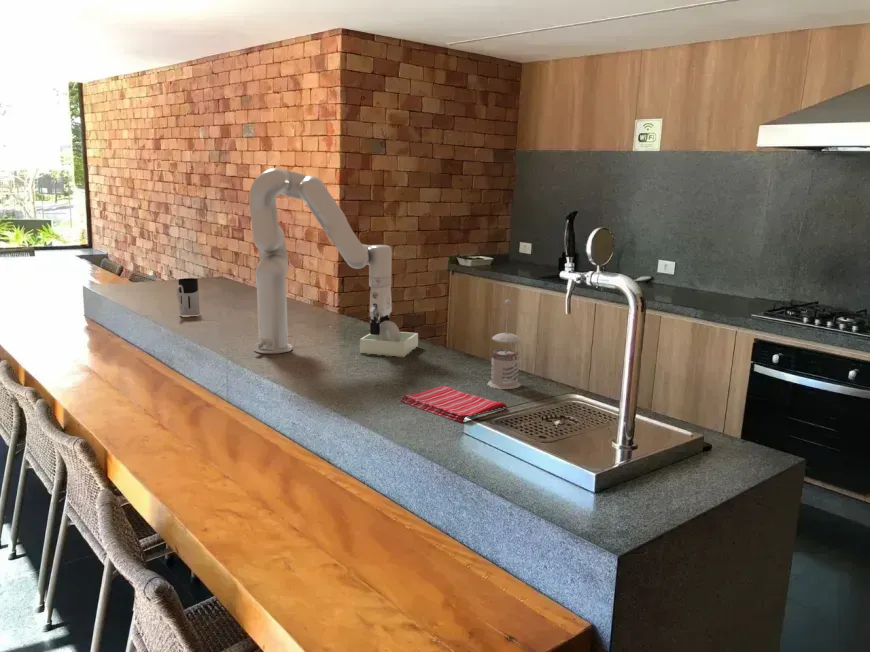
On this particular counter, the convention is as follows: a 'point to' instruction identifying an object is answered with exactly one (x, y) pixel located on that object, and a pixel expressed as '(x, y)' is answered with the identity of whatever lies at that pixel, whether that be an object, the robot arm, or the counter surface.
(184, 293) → the glass holder
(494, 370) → the french press
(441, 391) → the dish towel
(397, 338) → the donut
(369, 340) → the bin
